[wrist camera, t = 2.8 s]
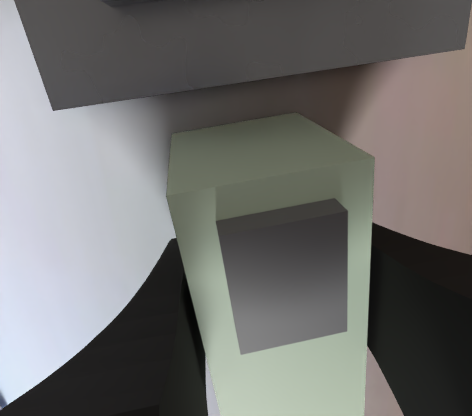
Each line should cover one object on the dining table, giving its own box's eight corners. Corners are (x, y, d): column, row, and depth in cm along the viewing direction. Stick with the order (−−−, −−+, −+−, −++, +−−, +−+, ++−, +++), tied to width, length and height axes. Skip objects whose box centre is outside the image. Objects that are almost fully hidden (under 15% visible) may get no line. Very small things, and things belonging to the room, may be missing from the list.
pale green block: (213, 324, 14) (232, 474, 9) (171, 133, 11) (164, 209, 6) (307, 303, 15) (374, 439, 10) (296, 111, 11) (391, 167, 6)
